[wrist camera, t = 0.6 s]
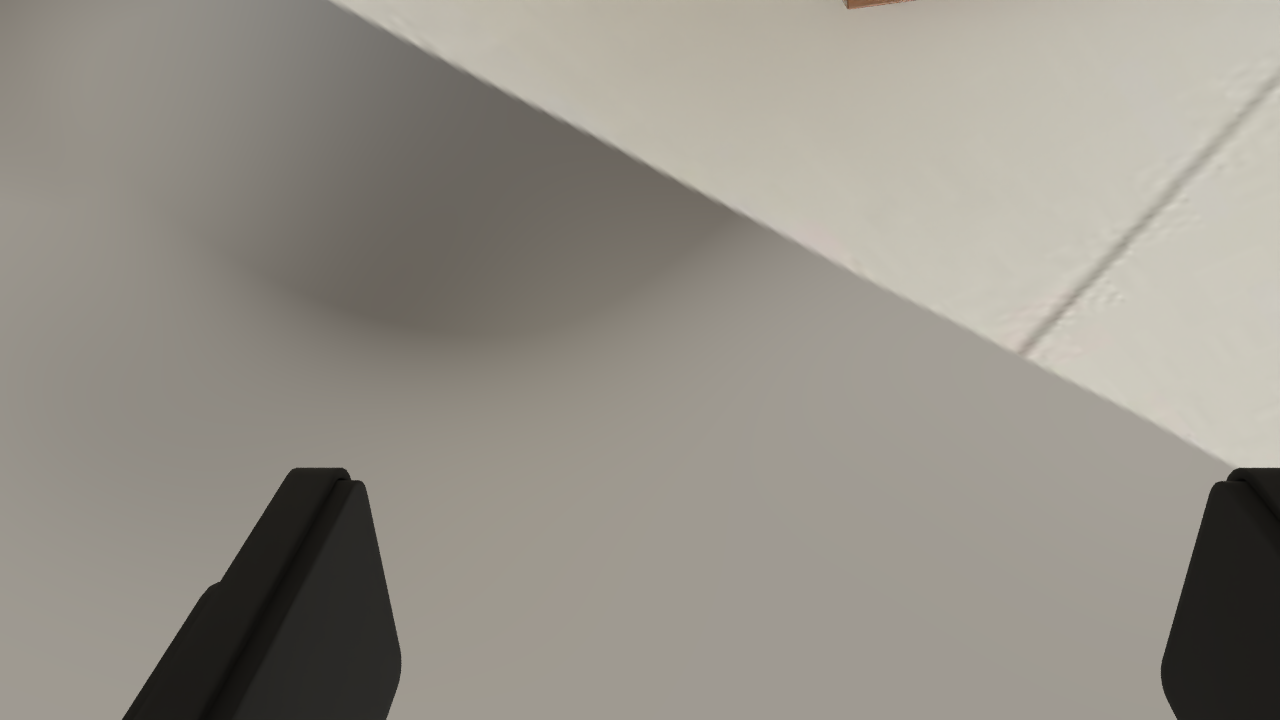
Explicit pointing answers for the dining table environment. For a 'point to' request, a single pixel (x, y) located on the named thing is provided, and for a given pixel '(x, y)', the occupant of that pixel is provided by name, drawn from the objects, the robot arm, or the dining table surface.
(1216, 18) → the dining table surface
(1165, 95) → the dining table surface
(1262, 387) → the dining table surface
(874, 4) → the cutting board
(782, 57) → the dining table surface
